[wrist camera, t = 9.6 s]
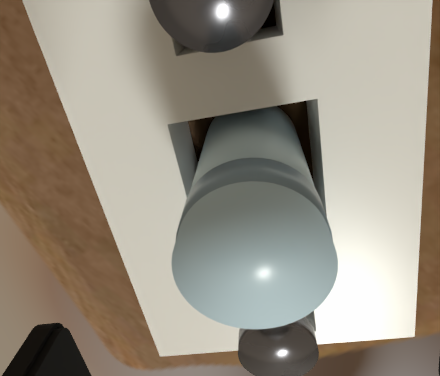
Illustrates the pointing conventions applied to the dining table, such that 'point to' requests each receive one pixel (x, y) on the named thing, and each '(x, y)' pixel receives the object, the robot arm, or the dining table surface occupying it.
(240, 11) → the grey dome-capped cylinder
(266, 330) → the dark capped shaker
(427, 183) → the dining table surface
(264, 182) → the cylinder
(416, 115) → the housing
